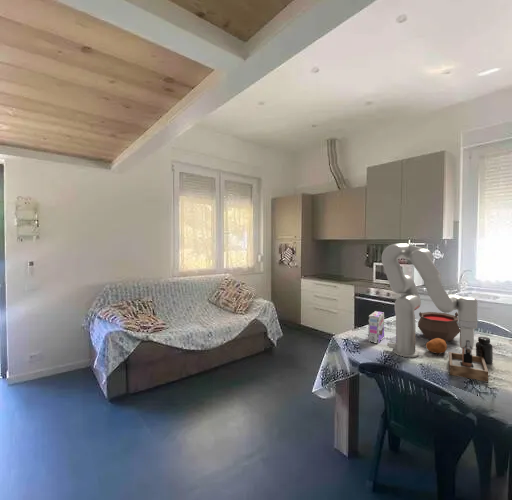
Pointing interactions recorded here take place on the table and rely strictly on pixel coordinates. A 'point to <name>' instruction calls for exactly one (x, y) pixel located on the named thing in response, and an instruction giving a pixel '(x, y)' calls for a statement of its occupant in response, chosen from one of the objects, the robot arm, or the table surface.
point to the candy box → (376, 326)
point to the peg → (464, 362)
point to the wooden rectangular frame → (473, 372)
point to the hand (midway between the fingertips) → (466, 358)
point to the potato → (436, 345)
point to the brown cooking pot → (439, 325)
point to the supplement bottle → (484, 349)
